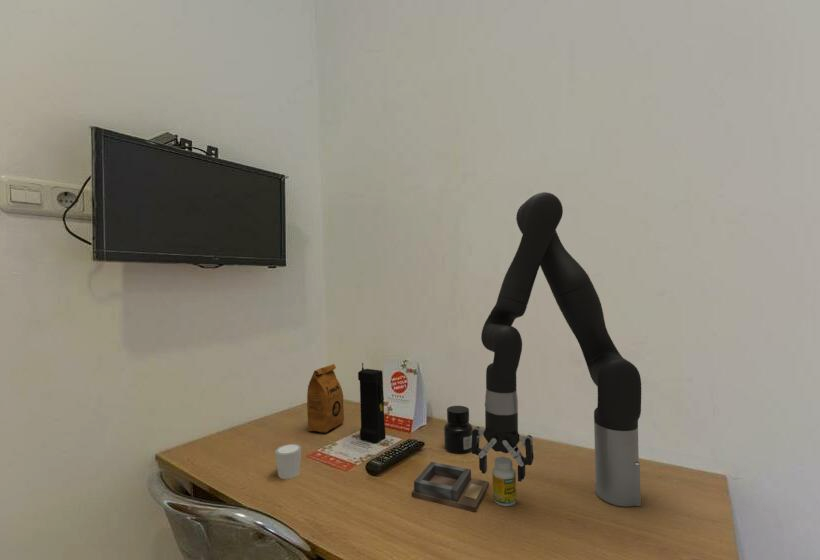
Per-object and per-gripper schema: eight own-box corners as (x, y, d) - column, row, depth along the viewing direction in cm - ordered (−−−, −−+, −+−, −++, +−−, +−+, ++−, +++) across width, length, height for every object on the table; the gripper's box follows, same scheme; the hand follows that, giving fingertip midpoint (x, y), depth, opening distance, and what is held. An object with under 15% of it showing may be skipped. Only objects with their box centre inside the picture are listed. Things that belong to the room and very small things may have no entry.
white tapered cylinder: (307, 470, 110) (306, 445, 110) (290, 482, 104) (289, 456, 104) (288, 466, 113) (287, 441, 113) (270, 477, 107) (269, 451, 107)
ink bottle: (473, 455, 116) (472, 415, 116) (443, 454, 118) (442, 414, 118) (473, 441, 126) (472, 404, 126) (445, 440, 127) (444, 403, 127)
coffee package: (348, 424, 144) (346, 364, 144) (325, 436, 133) (323, 371, 133) (328, 419, 149) (326, 361, 149) (303, 431, 138) (302, 369, 138)
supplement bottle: (504, 491, 96) (503, 452, 96) (521, 501, 92) (520, 461, 92) (488, 499, 94) (487, 459, 93) (505, 510, 89) (504, 467, 89)
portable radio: (389, 437, 131) (387, 362, 130) (378, 444, 126) (376, 366, 125) (370, 433, 135) (368, 360, 135) (359, 439, 130) (357, 364, 130)
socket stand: (489, 485, 99) (488, 471, 99) (475, 511, 89) (475, 496, 89) (430, 473, 106) (430, 460, 106) (411, 496, 96) (411, 482, 95)
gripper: (535, 407, 93) (535, 475, 93) (476, 399, 100) (477, 463, 100) (529, 418, 86) (530, 491, 87) (467, 408, 93) (468, 476, 93)
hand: (501, 476), depth 93 cm, fingers open, 8 cm apart
